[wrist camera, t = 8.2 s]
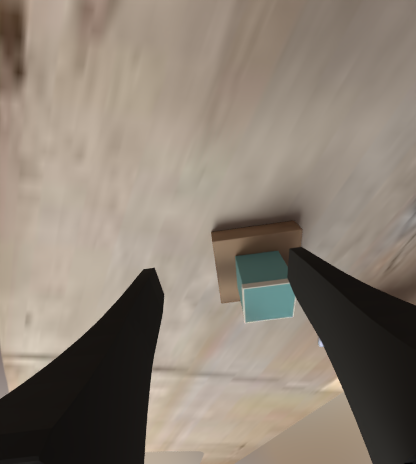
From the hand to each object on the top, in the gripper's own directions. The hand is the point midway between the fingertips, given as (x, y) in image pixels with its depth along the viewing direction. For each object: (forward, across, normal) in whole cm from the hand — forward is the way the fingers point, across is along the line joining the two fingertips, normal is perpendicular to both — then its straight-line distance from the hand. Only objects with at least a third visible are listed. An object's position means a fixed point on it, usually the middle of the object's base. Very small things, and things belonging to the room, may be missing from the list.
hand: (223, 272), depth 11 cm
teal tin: (+9, -4, +8) cm, 12 cm away
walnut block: (+11, -4, +8) cm, 14 cm away
